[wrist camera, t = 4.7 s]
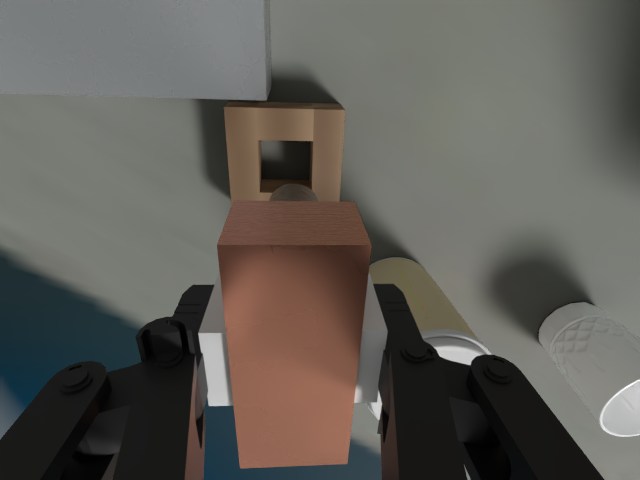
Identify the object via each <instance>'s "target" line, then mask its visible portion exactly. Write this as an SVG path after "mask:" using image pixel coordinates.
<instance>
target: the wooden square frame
mask: <svg viewBox="0 0 640 480" xmlns="http://www.w3.org/2000/svg"><path fill="white" fill-rule="evenodd" d="M224 118H225V130H226V143H227V156H228V168H229V181H230V194H231V206H232V204H233V201H234V200H239V201H269V198H270V196H271V195H272V193H273V192H274V191H275V190H276V189H278V188H279V187H281V186H283V185H286V184H292V183H295V184H301V185H304V186H306V187H308V188H309V189H311V190H312V191H313V192H314V193H315V195H316V196H317V198H318V201H339V200H340V185H341V169H342V153H343V138H344V122H345V109H344V108H343V107H342V106H341V104H337V103H300V102H263V101H229V102H228V103H227V104H226V105H225V106H224ZM261 140H280V141H311V143H310V180H279V179H262V162H261Z"/></svg>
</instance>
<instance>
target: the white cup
mask: <svg viewBox="0 0 640 480" xmlns="http://www.w3.org/2000/svg"><path fill="white" fill-rule="evenodd" d="M539 342H540V343H541V344H542V346H543V347H544V348H545V350H546V351H547V352H548V353H549V355H550V356H551V358H552V359H553V361H554V364H555V365H556V366H557V368H558V369H559V371H560V372H561V374H562V375H563V377H564V378H565V379H566V381H567V382H568V383H569V385H570V386H571V387H572V388H573V390H574V391H575V393H576V394H577V395H578V397H579V398H580V399H581V401H582V402H583V403H584V405H585V406H586V407H587V409H588V410H589V411H590V413H591V414H592V415H593V417H594V418H595V419H596V421H597V422H598V423H599V425H600V426H601V427H602V429H603V430H604V431H606V432H607V433H609V434H611V435H615V436H623V437H627V436H636V435H640V338H639V337H638V336H636V335H635V334H633V333H632V332H630V331H629V330H628V329H627V328H625V327H624V326H623V325H621V324H620V323H618V322H617V321H615V320H613V319H612V318H611V317H609V316H608V315H607V314H606V313H604V312H603V311H602V310H601V309H599V308H598V307H597V306H594V305H591V304H589V303H586V302H580V303H570V304H568V305H566V306H563V307H561V308H558V309H556V310H555V311H554V312H553V313H552V314H550V315H549V316H548V317H547V318H546V319H545V320H544V322H543V324H542V325H541V327H540V329H539Z"/></svg>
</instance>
